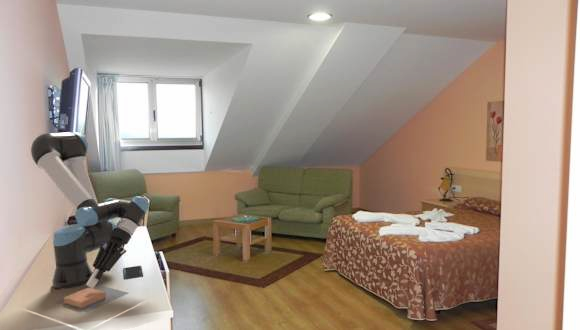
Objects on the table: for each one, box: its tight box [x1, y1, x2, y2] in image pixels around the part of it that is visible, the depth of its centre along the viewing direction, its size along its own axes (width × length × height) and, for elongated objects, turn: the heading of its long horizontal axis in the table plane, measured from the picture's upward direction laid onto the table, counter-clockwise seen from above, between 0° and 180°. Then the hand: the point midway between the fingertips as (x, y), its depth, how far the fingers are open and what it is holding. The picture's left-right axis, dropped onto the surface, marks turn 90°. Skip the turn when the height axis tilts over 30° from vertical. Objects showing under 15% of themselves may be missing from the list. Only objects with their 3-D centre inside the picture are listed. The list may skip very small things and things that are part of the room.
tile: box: [63, 286, 106, 308], centre depth 157 cm, size 10×2×10 cm
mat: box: [55, 284, 129, 313], centre depth 160 cm, size 18×18×1 cm
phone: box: [122, 265, 144, 280], centre depth 185 cm, size 8×1×15 cm
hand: (89, 286), depth 158 cm, fingers closed
